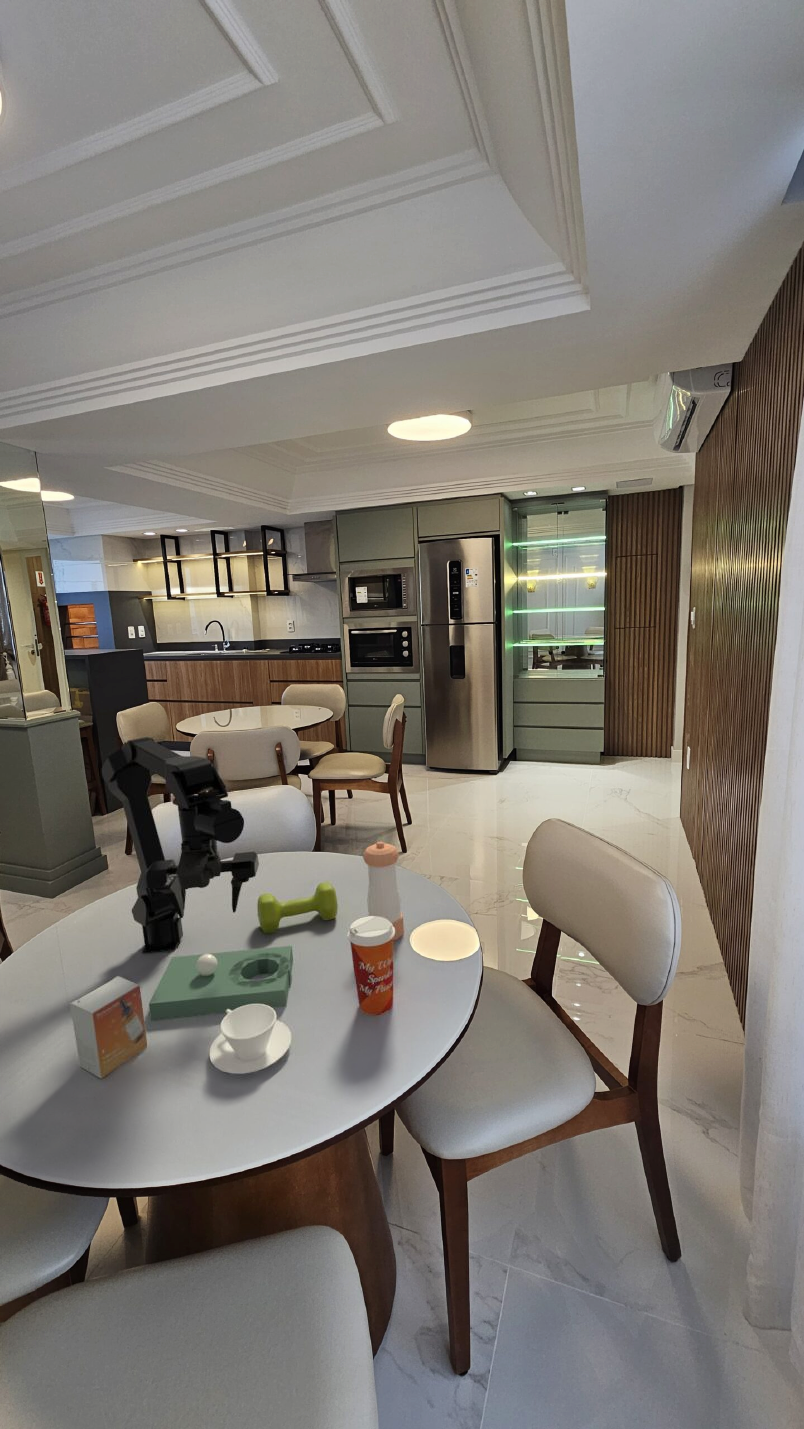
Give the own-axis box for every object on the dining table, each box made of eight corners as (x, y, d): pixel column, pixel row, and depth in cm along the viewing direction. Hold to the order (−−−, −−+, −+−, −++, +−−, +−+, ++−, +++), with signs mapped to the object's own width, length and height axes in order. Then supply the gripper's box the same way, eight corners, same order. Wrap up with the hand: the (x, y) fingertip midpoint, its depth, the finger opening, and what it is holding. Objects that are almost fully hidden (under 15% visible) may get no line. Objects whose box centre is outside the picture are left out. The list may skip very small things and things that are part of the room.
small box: (101, 1080, 90) (90, 1014, 89) (78, 1067, 93) (68, 1003, 92) (149, 1046, 97) (140, 984, 95) (126, 1035, 100) (118, 974, 98)
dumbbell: (262, 940, 127) (258, 906, 126) (257, 922, 135) (254, 890, 133) (341, 923, 132) (338, 891, 131) (333, 907, 140) (330, 876, 138)
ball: (195, 981, 108) (192, 962, 108) (199, 969, 112) (197, 951, 111) (216, 979, 109) (214, 960, 108) (220, 967, 112) (218, 949, 112)
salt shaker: (395, 944, 122) (389, 851, 119) (361, 939, 125) (355, 847, 122) (409, 926, 129) (404, 837, 126) (376, 921, 132) (371, 834, 128)
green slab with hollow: (151, 1020, 103) (148, 1003, 103) (173, 972, 117) (172, 957, 117) (287, 1006, 105) (286, 989, 105) (294, 960, 119) (293, 945, 118)
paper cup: (364, 1025, 99) (358, 943, 97) (345, 1000, 106) (339, 922, 103) (408, 1008, 103) (403, 929, 100) (387, 985, 109) (382, 910, 107)
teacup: (250, 1017, 103) (247, 988, 102) (308, 1040, 97) (305, 1008, 96) (192, 1065, 93) (188, 1032, 92) (253, 1093, 87) (249, 1058, 86)
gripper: (128, 853, 101) (141, 943, 104) (246, 842, 103) (255, 931, 106) (148, 830, 112) (159, 912, 115) (254, 820, 114) (263, 901, 117)
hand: (208, 914), depth 113 cm, fingers open, 9 cm apart
